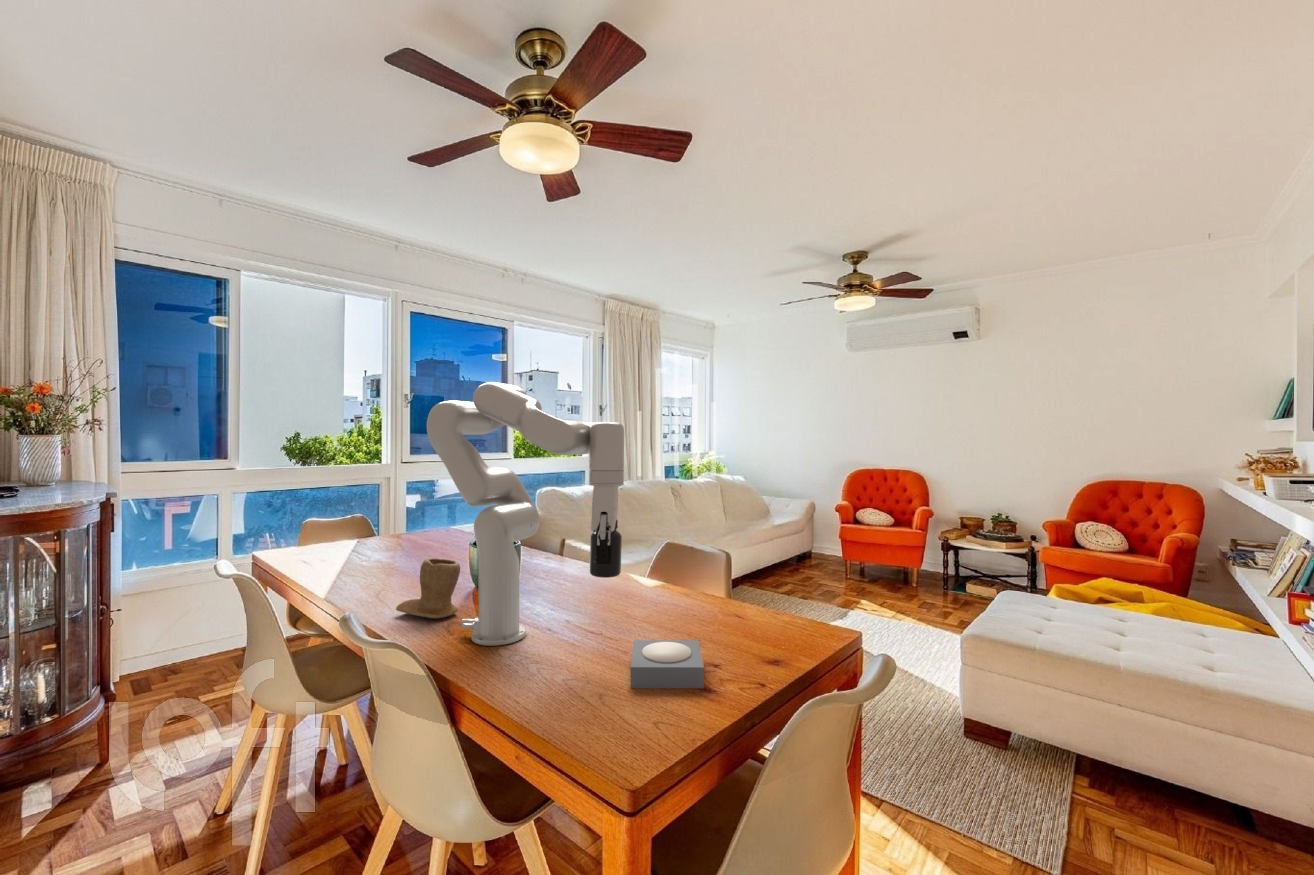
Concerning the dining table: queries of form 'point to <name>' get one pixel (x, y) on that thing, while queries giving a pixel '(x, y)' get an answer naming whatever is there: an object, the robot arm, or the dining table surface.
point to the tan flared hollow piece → (434, 590)
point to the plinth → (667, 664)
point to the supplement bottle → (615, 566)
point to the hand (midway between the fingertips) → (605, 559)
